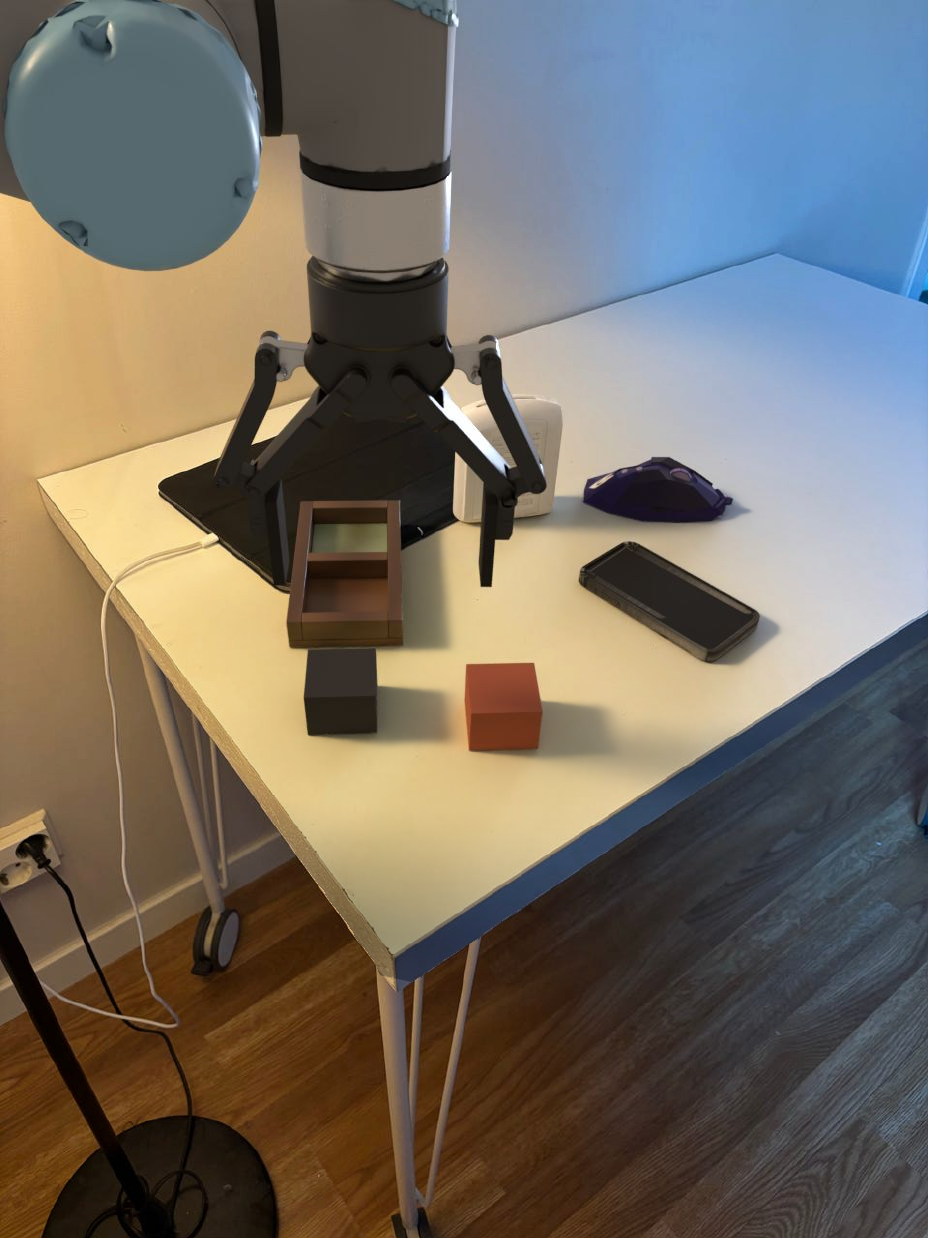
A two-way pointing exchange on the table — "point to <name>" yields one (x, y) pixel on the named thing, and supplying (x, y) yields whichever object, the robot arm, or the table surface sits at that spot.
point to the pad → (502, 706)
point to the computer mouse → (656, 493)
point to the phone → (669, 600)
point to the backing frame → (346, 575)
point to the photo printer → (546, 436)
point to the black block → (341, 691)
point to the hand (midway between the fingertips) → (384, 574)
